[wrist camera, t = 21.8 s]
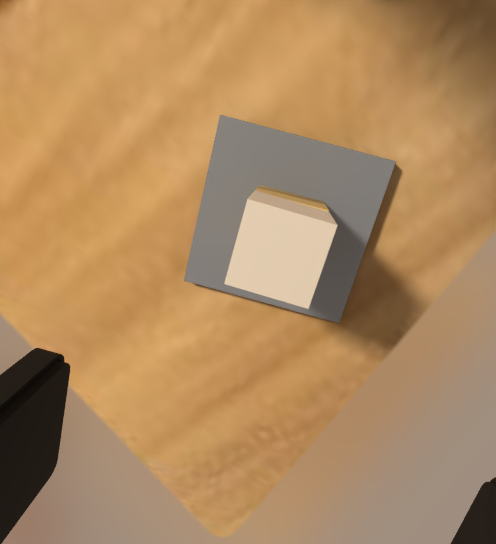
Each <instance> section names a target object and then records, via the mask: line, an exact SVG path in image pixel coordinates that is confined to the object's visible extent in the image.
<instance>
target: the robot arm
mask: <svg viewBox="0 0 496 544" xmlns="http://www.w3.org/2000/svg"><path fill="white" fill-rule="evenodd" d="M69 374H70V365H69V364H68V363H65V362H64V356H63V355H61V354H58V353H54V352H51V351H47V350H44V349H40V348H35V349H34V350H32V351H31V352H29V353H28V354H27V355H26V356H25V357H23V358H22V359H21V360H19V361H18V362H17V363H15V364H14V365H13V366H12V367H10V368H9V369H8V370H6V371H5V372H4V373H3V374H1V375H0V544H1V543H2V542H3V540H4V539H5V538H6V537H7V535H8V534H9V532H10V531H11V530H12V528H13V527H14V526H15V524H16V523H17V522H18V520H19V519H20V517H21V516H22V515H23V513H24V512H25V511H26V509H27V508H28V507H29V505H30V504H31V503H32V501H33V500H34V498H35V497H36V496H37V494H38V493H39V491H40V490H41V489H42V487H43V486H44V485H45V483H46V482H47V481H48V479H49V478H50V476H51V475H52V473H53V471H54V469H55V467H56V464H57V460H58V453H59V446H60V439H61V431H62V424H63V416H64V410H65V402H66V396H67V388H68V381H69ZM451 544H496V478H494V479H492V480H491V481H490V482H485V483H484V484H483V485H482V487H481V488H480V490H479V492H478V494H477V496H476V498H475V500H474V501H473V503H472V505H471V507H470V509H469V511H468V513H467V515H466V516H465V518H464V520H463V522H462V524H461V526H460V528H459V529H458V531H457V533H456V535H455V537H454V539H453V540H452V542H451Z"/></svg>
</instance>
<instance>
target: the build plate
mask: <svg viewBox="0 0 496 544" xmlns="http://www.w3.org/2000/svg"><path fill="white" fill-rule="evenodd" d="M395 163H396V161H392V160H389V159H385V158H381V157H377V156H374V155H370V154H366V153H362V152H358V151H355V150H351V149H347V148H343V147H340V146H336V145H332V144H328V143H325V142H321V141H317V140H313V139H310V138H306V137H302V136H298V135H295V134H291V133H287V132H283V131H279V130H276V129H272V128H268V127H264V126H261V125H257V124H253V123H249V122H246V121H242V120H238V119H234V118H231V117H227V116H223V115H220V118H219V123H218V127H217V132H216V137H215V141H214V146H213V150H212V155H211V159H210V164H209V169H208V173H207V178H206V182H205V187H204V191H203V196H202V201H201V205H200V210H199V214H198V219H197V223H196V228H195V233H194V237H193V242H192V246H191V251H190V256H189V260H188V265H187V269H186V274H185V278H184V281H187V282H191V283H195V284H198V285H202V286H206V287H209V288H213V289H217V290H220V291H224V292H227V293H231V294H235V295H238V296H242V297H246V298H249V299H253V300H256V301H260V302H264V303H267V304H271V305H275V306H278V307H282V308H286V309H289V310H293V311H296V312H300V313H304V314H307V315H311V316H315V317H318V318H322V319H326V320H329V321H333V322H336V323H339V322H340V319H341V317H342V314H343V311H344V308H345V305H346V302H347V300H348V297H349V294H350V291H351V288H352V285H353V282H354V280H355V277H356V274H357V271H358V268H359V265H360V263H361V260H362V257H363V254H364V251H365V248H366V245H367V243H368V240H369V237H370V234H371V231H372V228H373V226H374V223H375V220H376V217H377V214H378V211H379V208H380V206H381V203H382V200H383V197H384V194H385V191H386V189H387V186H388V183H389V180H390V177H391V174H392V171H393V169H394V166H395ZM259 185H262V186H266V187H270V188H273V189H277V190H281V191H285V192H289V193H293V194H297V195H300V196H304V197H308V198H312V199H316V200H320V201H323V202H324V203H325V205H326V206H327V208H328V209H329V212H330V214H331V216H332V217H333V219H334V220H335V222H336V224H337V225H338V226H337V228H336V231H335V234H334V237H333V240H332V243H331V246H330V249H329V251H328V254H327V257H326V260H325V263H324V266H323V269H322V272H321V274H320V277H319V280H318V283H317V286H316V289H315V292H314V295H313V297H312V300H311V303H310V306H309V309H307V308H303V307H300V306H297V305H293V304H290V303H287V302H283V301H280V300H276V299H273V298H270V297H266V296H263V295H260V294H256V293H253V292H249V291H246V290H243V289H239V288H236V287H233V286H229V285H226V284H224V283H225V279H226V275H227V272H228V268H229V264H230V261H231V257H232V253H233V250H234V246H235V242H236V239H237V235H238V232H239V228H240V224H241V221H242V217H243V213H244V210H245V206H246V202H247V199H248V198H249V197H250V195H251V194H252V193H253V192H254V191H255V190H256V189H257V188H258V187H259Z"/></svg>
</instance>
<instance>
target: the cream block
mask: <svg viewBox="0 0 496 544" xmlns="http://www.w3.org/2000/svg"><path fill="white" fill-rule="evenodd" d="M337 226H338V225H337V224H336V222H335V220H334V219H333V217H332V216H331V214H330V212H328V211H324V210H321V209H317V208H314V207H311V206H307V205H304V204H300V203H297V202H293V201H290V200H287V199H283V198H280V197H276V196H273V195H270V194H266V193H263V192H259V191H256V190H255V191H254V192H253V193H252V194H251V195H250V197H249V198H248V199H247V202H246V206H245V210H244V213H243V217H242V221H241V224H240V228H239V232H238V235H237V239H236V242H235V246H234V250H233V253H232V257H231V261H230V264H229V268H228V272H227V275H226V279H225V283H224V284H226V285H229V286H233V287H236V288H239V289H243V290H246V291H249V292H253V293H256V294H260V295H263V296H266V297H270V298H273V299H276V300H280V301H283V302H287V303H290V304H293V305H297V306H300V307H303V308H307V309H309V306H310V303H311V300H312V297H313V295H314V292H315V289H316V286H317V283H318V280H319V277H320V274H321V272H322V269H323V266H324V263H325V260H326V257H327V254H328V251H329V249H330V246H331V243H332V240H333V237H334V234H335V231H336V228H337Z"/></svg>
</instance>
